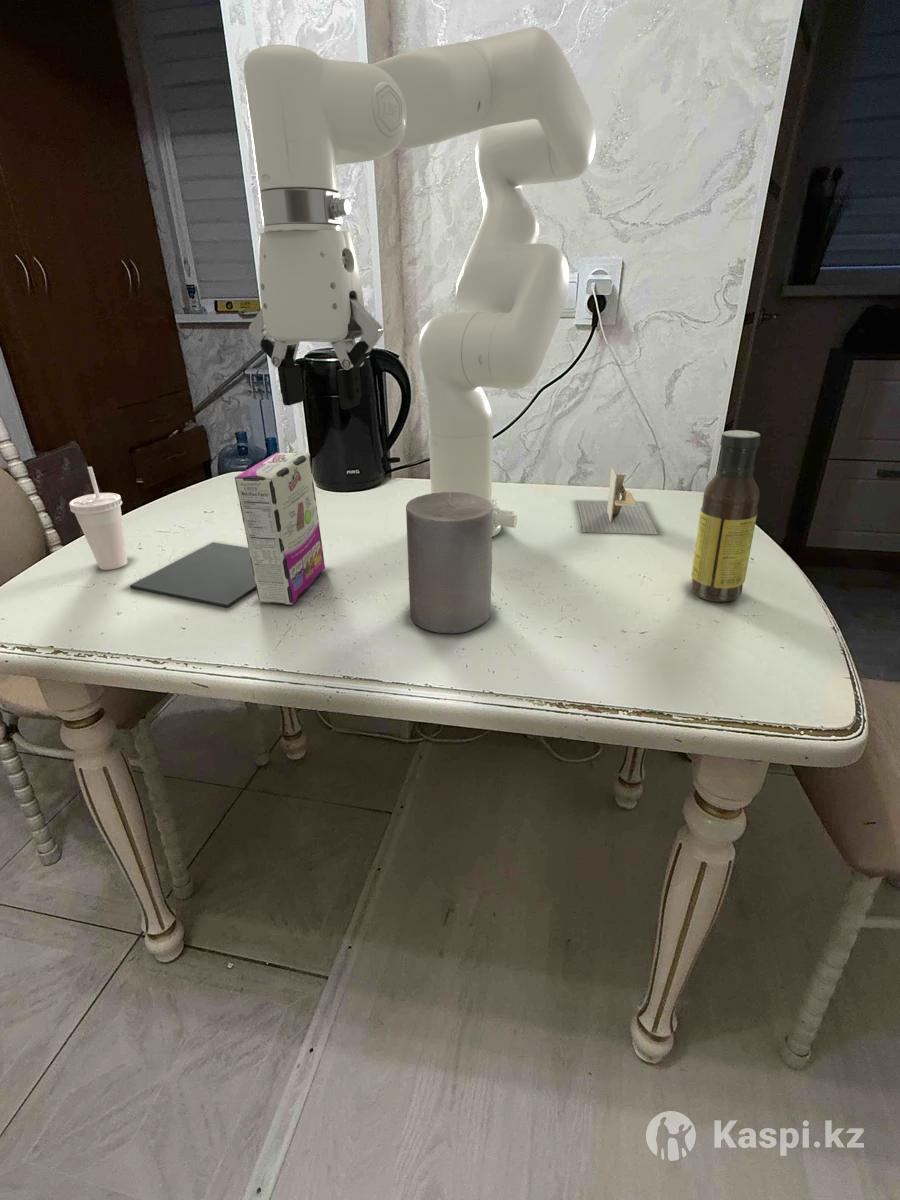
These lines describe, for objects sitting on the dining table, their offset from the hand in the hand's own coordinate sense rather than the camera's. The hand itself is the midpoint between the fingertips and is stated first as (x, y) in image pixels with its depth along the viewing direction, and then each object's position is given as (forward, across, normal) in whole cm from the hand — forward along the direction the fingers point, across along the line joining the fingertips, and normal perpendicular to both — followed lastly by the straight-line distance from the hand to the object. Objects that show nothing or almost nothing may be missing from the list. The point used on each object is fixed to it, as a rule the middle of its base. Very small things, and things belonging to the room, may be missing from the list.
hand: (321, 403), depth 69 cm
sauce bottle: (+24, -44, -17) cm, 53 cm away
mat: (+24, +20, 0) cm, 31 cm away
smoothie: (+24, +36, +3) cm, 43 cm away
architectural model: (+24, -28, -41) cm, 55 cm away
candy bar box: (+24, +8, 0) cm, 25 cm away
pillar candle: (+24, -15, 0) cm, 28 cm away
